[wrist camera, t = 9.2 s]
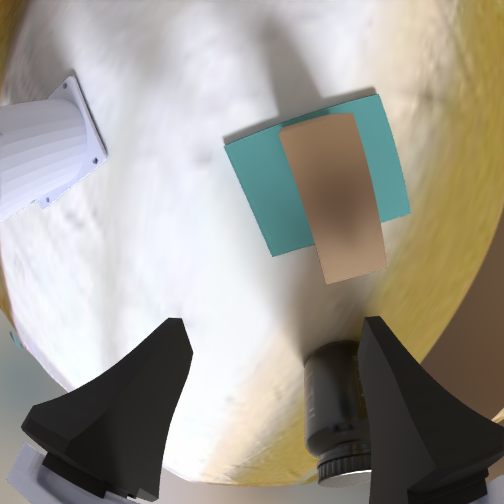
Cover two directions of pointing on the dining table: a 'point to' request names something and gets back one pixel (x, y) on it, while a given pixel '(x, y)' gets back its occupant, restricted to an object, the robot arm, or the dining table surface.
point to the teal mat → (284, 186)
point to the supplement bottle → (337, 416)
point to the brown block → (336, 194)
